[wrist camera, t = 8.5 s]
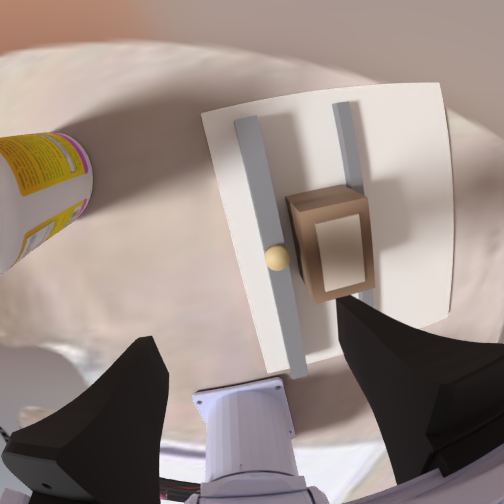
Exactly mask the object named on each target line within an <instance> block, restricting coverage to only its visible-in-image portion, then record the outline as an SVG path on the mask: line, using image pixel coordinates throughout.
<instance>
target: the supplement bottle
mask: <svg viewBox="0 0 504 504" xmlns="http://www.w3.org/2000/svg"><path fill="white" fill-rule="evenodd" d="M92 187H93V173H92V167H91V163H90V160H89V157H88V156H87V154H86V152H85V150H84V149H83V147H82V146H81V145H80V144H79V143H78V142H77V141H76V140H75V139H73V138H72V137H70V136H68V135H65V134H62V133H55V132H50V133H36V134H27V135H18V136H10V137H3V138H0V275H2V274H3V273H4V272H6V271H7V270H8V269H10V268H11V267H12V266H13V265H14V264H16V263H17V262H18V261H20V260H21V259H22V258H23V257H25V256H26V255H27V254H29V253H30V252H31V251H33V250H34V249H35V248H37V247H38V246H40V245H41V244H42V243H44V242H45V241H46V240H48V239H49V238H50V237H52V236H53V235H55V234H56V233H58V232H59V231H61V230H62V229H63V228H65V227H66V226H68V225H69V224H71V223H72V222H73V221H74V220H76V219H77V218H78V217H79V216H80V215H81V214H82V212H83V211H84V209H85V208H86V206H87V204H88V202H89V199H90V196H91V193H92Z"/></svg>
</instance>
